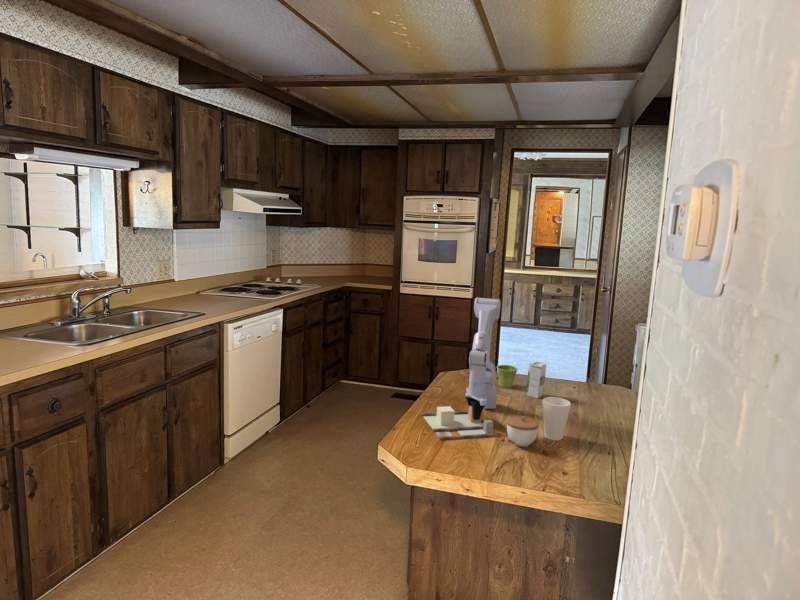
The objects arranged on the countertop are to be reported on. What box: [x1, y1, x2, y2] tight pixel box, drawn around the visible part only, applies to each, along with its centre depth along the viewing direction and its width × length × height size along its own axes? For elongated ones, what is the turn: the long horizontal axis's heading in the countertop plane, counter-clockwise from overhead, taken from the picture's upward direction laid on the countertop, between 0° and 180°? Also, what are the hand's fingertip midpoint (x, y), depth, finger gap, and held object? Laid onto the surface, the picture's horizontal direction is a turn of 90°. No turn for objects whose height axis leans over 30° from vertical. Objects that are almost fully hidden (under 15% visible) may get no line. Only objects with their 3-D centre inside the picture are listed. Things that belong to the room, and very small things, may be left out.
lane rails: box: [420, 410, 499, 441], centre depth 199 cm, size 21×23×2 cm
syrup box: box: [525, 360, 547, 399], centre depth 238 cm, size 6×6×14 cm
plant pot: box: [496, 364, 519, 389], centre depth 250 cm, size 9×9×9 cm
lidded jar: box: [506, 415, 540, 447], centre depth 188 cm, size 11×11×9 cm
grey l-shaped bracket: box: [457, 419, 494, 436], centre depth 193 cm, size 12×5×5 cm, turn 105°
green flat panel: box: [422, 406, 484, 430], centre depth 202 cm, size 20×13×6 cm, turn 104°
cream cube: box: [436, 405, 456, 425], centre depth 201 cm, size 5×5×5 cm
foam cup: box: [541, 396, 572, 441], centre depth 194 cm, size 10×9×13 cm
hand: (474, 417), depth 204 cm, fingers closed on green flat panel, 3 cm apart
